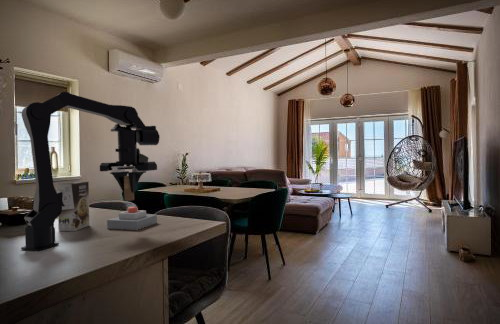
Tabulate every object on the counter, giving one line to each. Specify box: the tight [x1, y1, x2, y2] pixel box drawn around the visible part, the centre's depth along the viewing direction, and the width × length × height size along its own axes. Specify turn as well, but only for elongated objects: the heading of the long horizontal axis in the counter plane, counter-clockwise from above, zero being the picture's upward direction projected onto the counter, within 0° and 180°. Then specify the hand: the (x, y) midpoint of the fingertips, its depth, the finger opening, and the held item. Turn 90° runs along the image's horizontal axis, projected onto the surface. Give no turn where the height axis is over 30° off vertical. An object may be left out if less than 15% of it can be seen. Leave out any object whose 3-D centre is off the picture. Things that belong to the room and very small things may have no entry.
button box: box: [106, 209, 158, 231], centre depth 117 cm, size 12×12×5 cm
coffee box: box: [57, 181, 91, 232], centre depth 114 cm, size 9×6×16 cm
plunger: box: [127, 206, 138, 213], centre depth 117 cm, size 3×3×3 cm
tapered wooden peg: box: [123, 175, 135, 202], centre depth 107 cm, size 3×3×8 cm
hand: (129, 192), depth 107 cm, fingers closed on tapered wooden peg, 3 cm apart
